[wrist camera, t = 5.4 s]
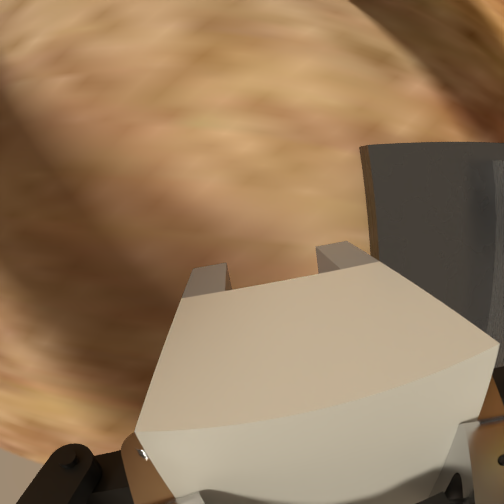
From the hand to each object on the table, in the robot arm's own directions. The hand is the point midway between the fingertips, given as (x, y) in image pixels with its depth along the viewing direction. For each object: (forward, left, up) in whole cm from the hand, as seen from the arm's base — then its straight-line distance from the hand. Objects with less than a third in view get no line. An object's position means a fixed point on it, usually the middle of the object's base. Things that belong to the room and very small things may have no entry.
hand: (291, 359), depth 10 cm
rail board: (+1, +14, -5) cm, 15 cm away
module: (0, 0, -2) cm, 2 cm away
